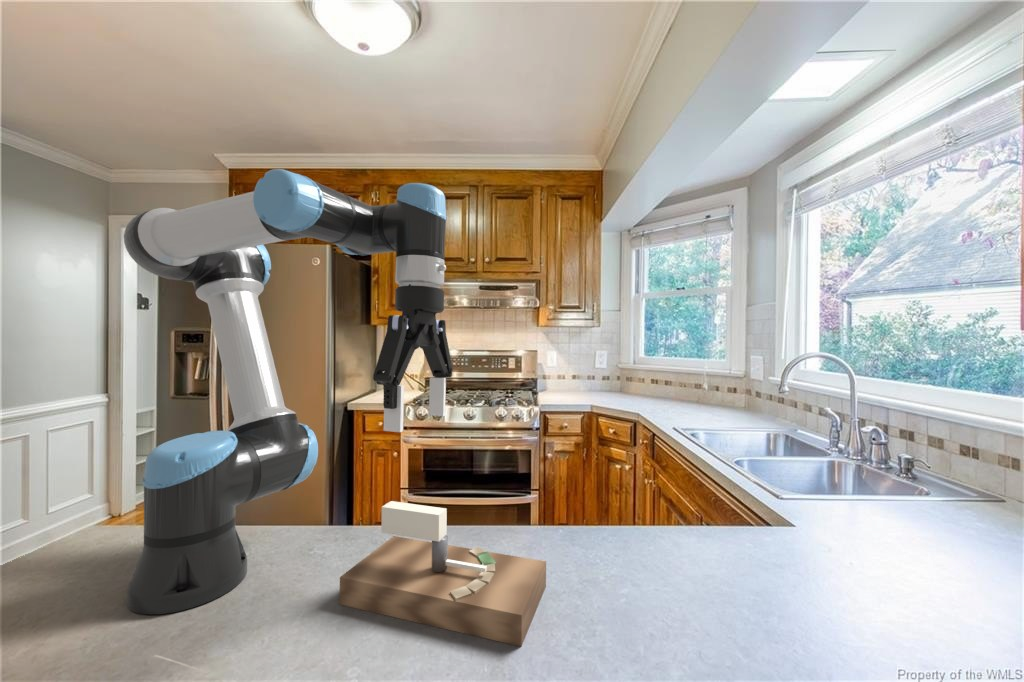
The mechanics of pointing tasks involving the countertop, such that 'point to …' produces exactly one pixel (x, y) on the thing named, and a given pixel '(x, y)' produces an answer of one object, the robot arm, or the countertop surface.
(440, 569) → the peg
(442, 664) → the countertop surface
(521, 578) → the board
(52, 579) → the countertop surface
